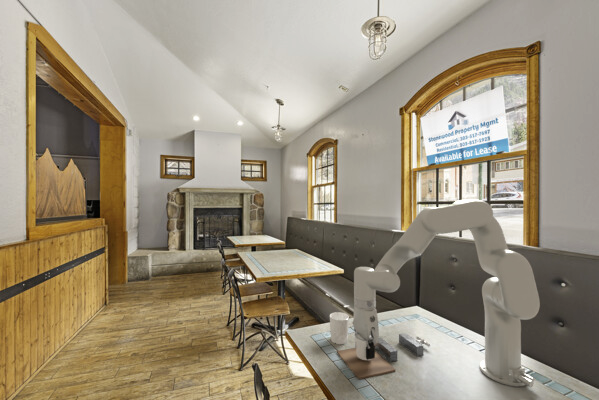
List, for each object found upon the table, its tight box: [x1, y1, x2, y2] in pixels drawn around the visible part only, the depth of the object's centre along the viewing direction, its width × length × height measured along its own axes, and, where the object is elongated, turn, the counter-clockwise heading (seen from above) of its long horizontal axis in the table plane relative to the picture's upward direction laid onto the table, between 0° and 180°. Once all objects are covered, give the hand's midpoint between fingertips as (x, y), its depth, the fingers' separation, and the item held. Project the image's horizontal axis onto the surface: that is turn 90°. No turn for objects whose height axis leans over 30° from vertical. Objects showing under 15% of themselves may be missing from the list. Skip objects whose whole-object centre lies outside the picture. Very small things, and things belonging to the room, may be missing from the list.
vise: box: [375, 332, 431, 363], centre depth 102 cm, size 10×20×4 cm, turn 108°
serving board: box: [336, 347, 396, 380], centre depth 95 cm, size 16×14×1 cm
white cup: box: [329, 311, 350, 345], centre depth 109 cm, size 8×8×10 cm
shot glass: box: [354, 333, 372, 360], centre depth 95 cm, size 7×7×7 cm
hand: (364, 352), depth 95 cm, fingers closed on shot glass, 6 cm apart
